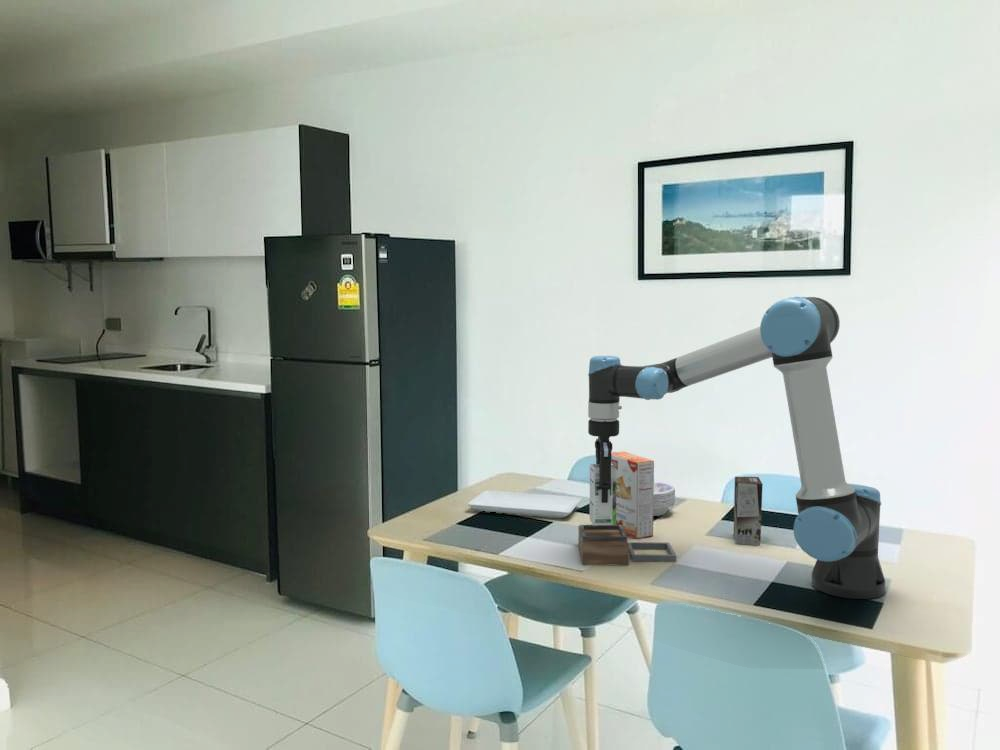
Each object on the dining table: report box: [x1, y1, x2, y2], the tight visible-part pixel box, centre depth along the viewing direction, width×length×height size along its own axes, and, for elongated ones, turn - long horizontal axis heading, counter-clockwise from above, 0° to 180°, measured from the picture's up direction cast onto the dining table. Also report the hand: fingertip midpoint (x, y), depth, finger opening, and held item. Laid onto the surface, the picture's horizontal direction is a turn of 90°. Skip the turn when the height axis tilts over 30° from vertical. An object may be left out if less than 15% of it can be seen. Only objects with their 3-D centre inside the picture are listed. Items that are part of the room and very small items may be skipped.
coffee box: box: [733, 476, 763, 546], centre depth 219 cm, size 9×6×16 cm
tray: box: [467, 489, 583, 519], centre depth 250 cm, size 17×31×4 cm, turn 71°
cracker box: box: [611, 451, 655, 540], centre depth 227 cm, size 14×6×21 cm, turn 27°
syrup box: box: [589, 463, 616, 526], centre depth 207 cm, size 6×6×14 cm
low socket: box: [628, 541, 677, 563], centre depth 208 cm, size 11×11×2 cm
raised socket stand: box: [577, 524, 630, 566], centre depth 208 cm, size 16×11×6 cm
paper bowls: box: [653, 481, 676, 517], centre depth 246 cm, size 15×15×8 cm
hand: (602, 511), depth 207 cm, fingers closed on syrup box, 6 cm apart
